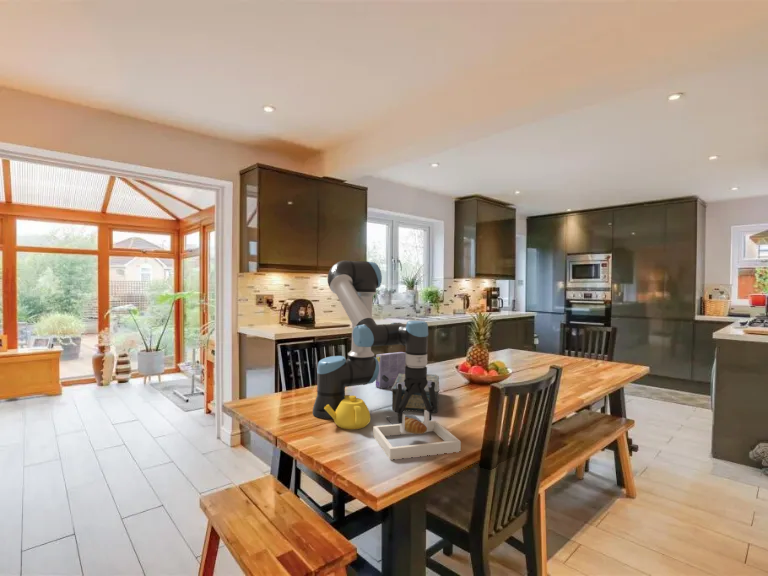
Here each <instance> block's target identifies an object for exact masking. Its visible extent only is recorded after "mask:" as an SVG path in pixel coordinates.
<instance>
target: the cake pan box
mask: <svg viewBox="0 0 768 576" xmlns="http://www.w3.org/2000/svg"><path fill="white" fill-rule="evenodd" d="M375 358H376V359H377V360H378V364H379V374H378V377H377V379H376V380H375V388H379V389H386V388H392V387H393V385H394V383H395V381H396V379H397V376H398V374H399V373H401V374H405V367H406V366H407V365H406V364H405V358H406V351H405V352H403V351H398V352H388V353H378V354H376V355H375Z"/></svg>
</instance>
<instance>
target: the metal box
mask: <svg viewBox="0 0 768 576" xmlns="http://www.w3.org/2000/svg"><path fill="white" fill-rule="evenodd" d="M439 379H440V376H439V375H437V374H430V373H427V381H430V380H432V381H433V382H435V388H434V390H435V397H436V404H437V409H436V410H433V412H432V413H437V412H438V411H439V392H440V391H441V390H440V381H439ZM404 380H405V374H401V373H399V374H398V376H397V379H396V381H395V383H394V385H393V387H391V394H392V398H391V399H392V403H391V407H392V408H391V409H392V411H393V404H394V399H395V394H396V389H397V388H396V383H397V382H399V383H401V382H404ZM405 390H406V387H405V386H404V387H403V389H402V394H401V399H400V403H401V401H402V399H403V396H404V394H405ZM424 390H425V392H426V396H427V398H428V400H429V403H430V405H431V401H430V395H429V387H428V385H426V387H425V388H424ZM399 405H400V404H399ZM424 410H427V409H426V406H425V404H424V401H423V399H422V397H421V394H420V393H413V394H412V395H411V396H410V398H409V400H408V403H407V405H406V407H405V410H404V412H413V413H417V412H418V413H424Z"/></svg>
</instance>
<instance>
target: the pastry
mask: <svg viewBox="0 0 768 576" xmlns="http://www.w3.org/2000/svg"><path fill="white" fill-rule="evenodd" d="M405 431H406V432H410V433H412V434H413V435H414V434H415V435H423V434H425V433H427V432H426V431H427V427H426V426H425V425H424V424H423V423H421V422H419V421H418V420H417V419H413V418H408V417H405Z"/></svg>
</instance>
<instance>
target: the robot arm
mask: <svg viewBox="0 0 768 576" xmlns="http://www.w3.org/2000/svg"><path fill="white" fill-rule="evenodd" d="M382 280H383V276H382V271H381V269H380V266H379V265H378V264H377V263H376V262H373V261H368V260H367V261H366V260H364V261H363V260H340V261H338V262H335V264H333V265H332V267H330V269H329V271H328V273H327V285H328V287H329V289H330V291H331V292H332V293H333V294H335V295H336V297H337V298H338V299H337V300H338V301H339V302H340V304H341V306H342V307H343V310H344V311H345V313H346V315H347V317H348V319H349V321H350V322H351V347H350V348H351V350H350V351H349V352H347V358H346V357H345V356H343V355H331V356H327V357H324V358H321V359H320V360H319V361H318V362H317V370H316V373H317V376H316V378H317V381H316V385H317V386H316V387H317V388H316V389H317V390H316V391H317V393H316V398H315V400H314V404H313V407H312V415H313V416H314V417H316V418H319V419H329V420H330V419H333V418H332V417H331V416H330V415H329V414H328V412H327V411H326V410H325V409H324V407H325V406H326V405H328V404H329V405H330V407H331V408H332V409H333V410H334V411H336V409H337V407H338V405H339V404H340V402H341V401H342V400H343V399H345V395H346V387H348V388H349V387H355V386H362V385H363V386H365V385H366V386H367V385H369V384H370V385H371V384H373V383H375V382H376V379H377V377H378V374H379V364H378V360H377V359H376V356H375V353H374V352H373V351H372V347H382V346H394V345H395V346H396V345H398V346H400V345H401V346H404V347H405V352H406V358H405V364H406V367H405V380H404V382H401V383H399V382H397V383H396V388H397V389H396V394H395V399H394V404H393V410H392V411H393V412H394V413H396V414H397V416H398V422H399V423H400V431H401V432H402V434H401V435H405V434H404V433H405V415H406V414H405V413H404V412H405V411H404V410H405V407H406V405H407V403H408V400H409V398H410V396H411V395H412V394H413V393H420V394H421V397H422V399H423V401H424V404H425V406H426V409H427V410H424V412H423V413H424V414H423V418H424V419H423V422H424V425H425V426H426V427H427V431H429V421H432V419H433V418H432V417H433V415H432V413H433V410H436V409H437V404H436V397H435V390H434V388H435V382H433V381H432V380H430V381H427V374H428V367H427V365H428V346H429V342H428V341H429V326H428V325H429V324H428V323H427V322H426V321H425V320H424V321H423V320H408V321H406V324H405V323H402V322H392V323H390V324H389V323H388V324H387V323H385V324H377V323H376V321H375V319H374V318H373V296H374V295H376V293H377V289H378V288H380V287H381V284H382ZM426 385H428V387H429V395H430V401H431V405H430V403H429V400H428V398H427V396H426V392H425V390H424V388H425V387H426ZM404 386H405V387H406V390H405V394H404V396H403V399H402V401H401V403H400V399H401V394H402V389H403V387H404ZM399 404H400V405H399ZM333 420H334V419H333Z"/></svg>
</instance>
